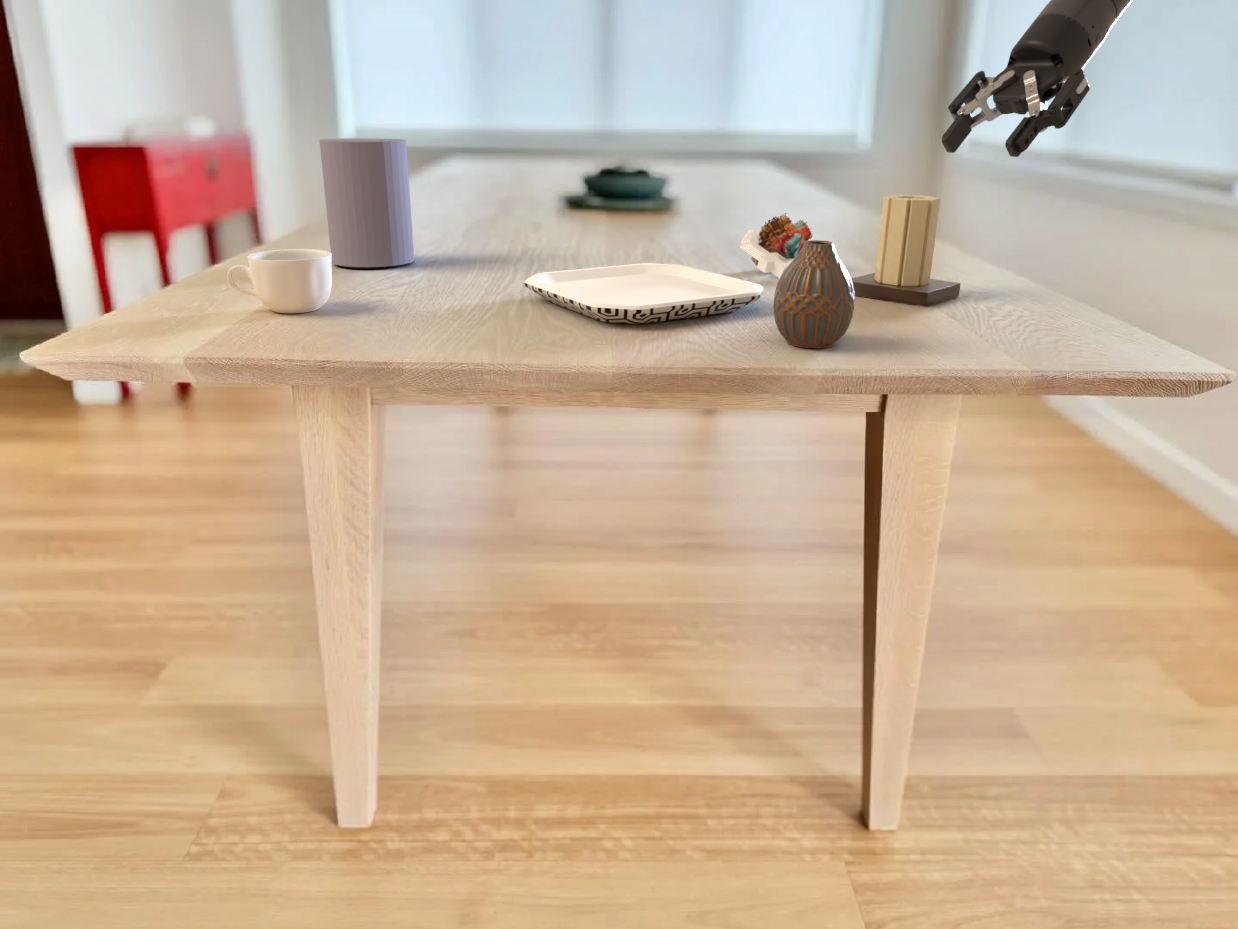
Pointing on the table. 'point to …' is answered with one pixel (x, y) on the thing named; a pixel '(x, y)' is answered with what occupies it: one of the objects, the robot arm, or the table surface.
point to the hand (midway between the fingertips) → (977, 149)
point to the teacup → (288, 279)
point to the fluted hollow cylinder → (907, 239)
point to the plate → (644, 292)
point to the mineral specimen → (776, 244)
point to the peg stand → (906, 291)
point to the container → (367, 202)
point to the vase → (814, 297)
